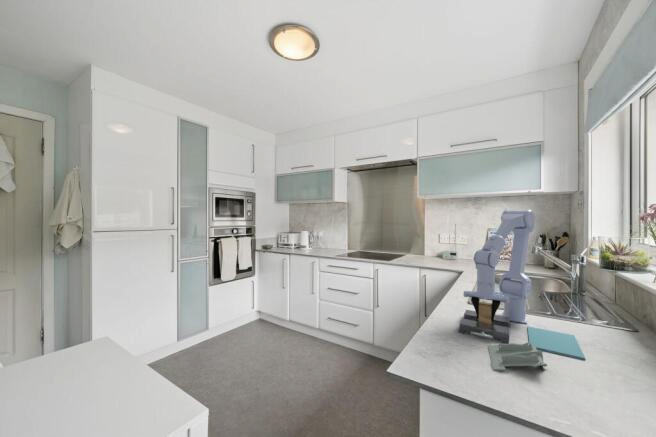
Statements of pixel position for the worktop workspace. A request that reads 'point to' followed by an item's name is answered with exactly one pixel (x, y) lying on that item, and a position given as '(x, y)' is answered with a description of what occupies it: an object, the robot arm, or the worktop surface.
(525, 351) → the metal bracket
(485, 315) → the oak peg
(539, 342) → the teal mat
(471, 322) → the vise
